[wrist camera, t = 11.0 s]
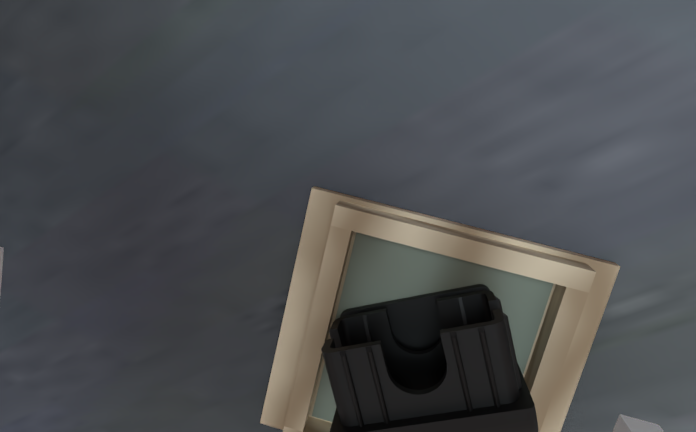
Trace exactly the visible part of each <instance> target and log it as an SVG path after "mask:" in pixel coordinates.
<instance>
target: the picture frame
mask: <svg viewBox="0 0 696 432" xmlns="http://www.w3.org/2000/svg"><path fill="white" fill-rule="evenodd" d="M619 269H620V266H619V265H617V264H616V263H614V262H610V261H606V260H602V259H598V258H594V257H590V256H586V255H582V254H579V253H575V252H571V251H567V250H563V249H559V248H555V247H551V246H547V245H543V244H539V243H535V242H531V241H527V240H524V239H520V238H516V237H512V236H508V235H504V234H500V233H496V232H492V231H488V230H484V229H480V228H476V227H472V226H469V225H465V224H461V223H457V222H453V221H449V220H445V219H441V218H437V217H433V216H429V215H425V214H421V213H418V212H414V211H410V210H406V209H402V208H398V207H394V206H390V205H386V204H382V203H378V202H374V201H370V200H366V199H363V198H359V197H355V196H351V195H347V194H343V193H339V192H335V191H331V190H327V189H323V188H319V187H315V186H314V187H313V188H312V189H311V194H310V198H309V203H308V207H307V212H306V216H305V221H304V226H303V230H302V235H301V239H300V244H299V248H298V253H297V257H296V262H295V266H294V271H293V275H292V280H291V285H290V289H289V294H288V298H287V303H286V307H285V312H284V316H283V321H282V325H281V330H280V335H279V339H278V344H277V348H276V353H275V357H274V362H273V366H272V371H271V375H270V380H269V384H268V389H267V394H266V398H265V403H264V407H263V412H262V416H261V421H260V423H261V424H265V425H268V426H271V427H275V428H278V429H281V430H283V432H330V428H331V425H332V421H333V418H334V414H335V411H336V403H335V400H334V396H333V392H332V388H331V385H330V381H329V377H328V373H327V370H326V366H325V362H324V358H323V355H322V351H321V348H322V346H323V345H324V343H325V341H326V339H331V338H330V334H329V330H330V328H331V327H332V324H333V322H334V321H335V320H336V319H338V318H340V315H341V313H342V312H343V311H344V310H346V309H349V308H354V307H360V306H365V305H370V304H376V303H381V302H386V301H392V300H397V299H402V298H408V297H413V296H418V295H424V294H429V293H434V292H440V291H445V290H450V289H456V288H461V287H466V286H472V285H477V284H484V285H486V286H487V287H488V288H489V290H490V291H492V292H493V293H494V296H496V297H497V298H499V299H500V301H501V306H502V311H503V313H504V314H506V315H507V316H508V320H509V325H510V330H511V335H512V340H513V345H514V349H515V354H516V359H517V362H518V365H519V367H520V370H521V372H522V375H523V377H524V380H525V382H526V384H527V387H528V389H529V392H530V394H531V397H532V399H533V402H534V404H535V410H536V415H537V422H538V432H560V431H561V429H562V426H563V423H564V420H565V418H566V415H567V412H568V409H569V406H570V404H571V401H572V398H573V395H574V393H575V390H576V387H577V384H578V382H579V379H580V376H581V373H582V371H583V368H584V365H585V362H586V360H587V357H588V354H589V351H590V349H591V346H592V343H593V340H594V338H595V335H596V332H597V329H598V327H599V324H600V321H601V318H602V316H603V313H604V310H605V307H606V305H607V302H608V299H609V296H610V294H611V291H612V288H613V285H614V283H615V280H616V277H617V274H618V271H619Z"/></svg>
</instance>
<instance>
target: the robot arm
mask: <svg viewBox="0 0 696 432" xmlns="http://www.w3.org/2000/svg"><path fill="white" fill-rule="evenodd" d="M3 249H4V248H2V247H0V294H1V279H2V264H3ZM613 432H664V431H663V429H662V428H661V427H660V426H659V425H658V424H654V423H650V422H647V421H643V420H639V419H636V418H632V417H628V416H625V415H621V414H620V415H619V417H618V420H617V422H616V424H615V427H614V429H613Z"/></svg>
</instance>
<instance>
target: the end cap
mask: <svg viewBox="0 0 696 432" xmlns="http://www.w3.org/2000/svg"><path fill="white" fill-rule="evenodd" d="M329 334H330V338H331V339H326V341H325V343H324V345H323V346H322V348H321V351H322V355H323V358H324V362H325V366H326V370H327V373H328V377H329V381H330V385H331V388H332V392H333V396H334V400H335V403H336V411H335V414H334V418H333V421H332V425H331V428H330V432H538V422H537V415H536V410H535V404H534V402H533V399H532V397H531V394H530V392H529V389H528V387H527V384H526V382H525V380H524V377H523V375H522V372H521V370H520V367H519V365H518V362H517V359H516V354H515V349H514V345H513V340H512V335H511V330H510V325H509V320H508V316H507V315H506V314H504V313H503V311H502V306H501V301H500V299H499V298H497V297H496V296H494V293H493V292H492V291H490V290H489V288H488V287H487V286H486V285H484V284H477V285H472V286H466V287H461V288H456V289H450V290H445V291H440V292H434V293H429V294H424V295H418V296H413V297H408V298H402V299H397V300H392V301H386V302H381V303H376V304H370V305H365V306H360V307H354V308H349V309H346V310H344V311H343V312H342V313H341V315H340V318H338V319H336V320H335V321H334V322H333V324H332V327H331V328H330V330H329Z"/></svg>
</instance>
